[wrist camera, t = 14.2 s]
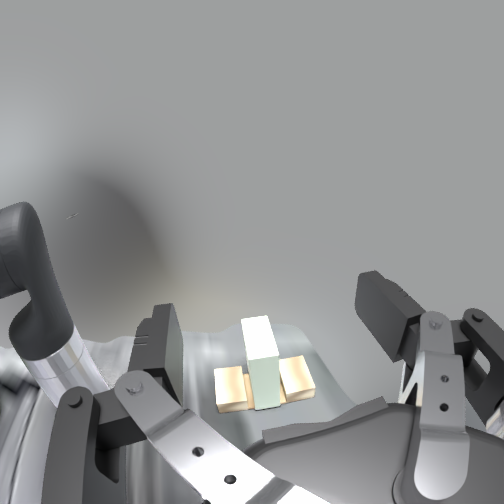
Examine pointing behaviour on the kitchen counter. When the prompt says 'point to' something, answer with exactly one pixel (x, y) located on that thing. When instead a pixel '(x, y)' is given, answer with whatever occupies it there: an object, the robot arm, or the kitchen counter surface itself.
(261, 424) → the kitchen counter surface
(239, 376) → the slot board
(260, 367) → the tall mint green pillar
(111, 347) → the kitchen counter surface
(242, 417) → the kitchen counter surface
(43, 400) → the kitchen counter surface
